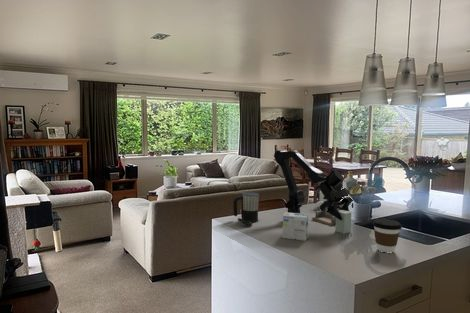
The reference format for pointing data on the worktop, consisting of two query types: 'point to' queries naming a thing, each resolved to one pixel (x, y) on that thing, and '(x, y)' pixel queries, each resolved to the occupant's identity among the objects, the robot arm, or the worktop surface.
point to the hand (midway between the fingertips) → (345, 219)
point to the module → (343, 222)
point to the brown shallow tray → (325, 218)
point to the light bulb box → (295, 226)
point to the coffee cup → (386, 234)
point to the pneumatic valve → (320, 197)
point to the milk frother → (247, 207)
